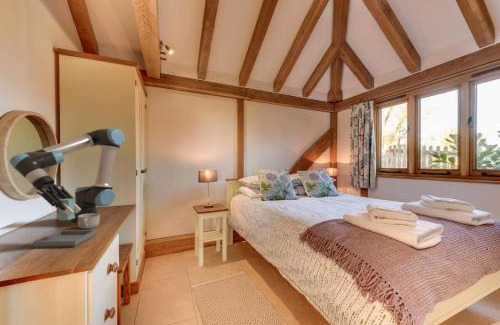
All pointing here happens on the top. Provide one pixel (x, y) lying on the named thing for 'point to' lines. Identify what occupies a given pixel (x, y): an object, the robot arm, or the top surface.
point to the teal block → (71, 205)
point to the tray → (65, 239)
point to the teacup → (88, 221)
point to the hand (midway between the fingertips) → (75, 212)
